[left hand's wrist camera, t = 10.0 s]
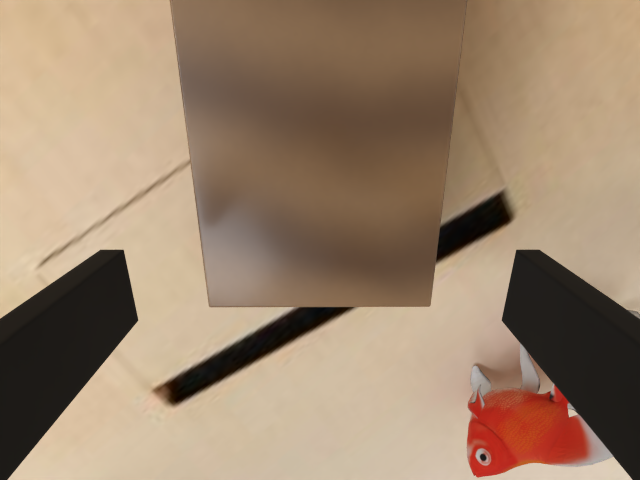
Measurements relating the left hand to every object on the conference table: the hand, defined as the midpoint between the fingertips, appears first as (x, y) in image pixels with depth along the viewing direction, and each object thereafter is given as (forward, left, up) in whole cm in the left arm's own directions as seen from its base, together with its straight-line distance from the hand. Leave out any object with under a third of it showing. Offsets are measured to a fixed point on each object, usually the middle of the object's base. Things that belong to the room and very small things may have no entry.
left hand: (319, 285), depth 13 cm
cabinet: (+6, 0, -14) cm, 15 cm away
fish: (-12, -17, -14) cm, 25 cm away
